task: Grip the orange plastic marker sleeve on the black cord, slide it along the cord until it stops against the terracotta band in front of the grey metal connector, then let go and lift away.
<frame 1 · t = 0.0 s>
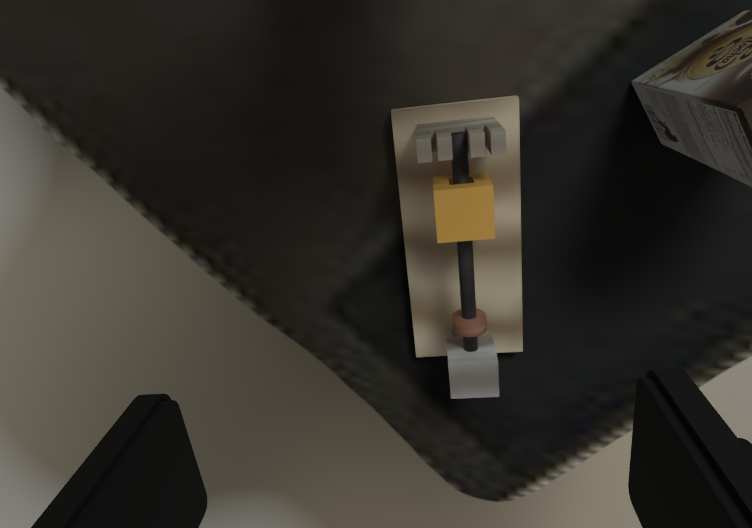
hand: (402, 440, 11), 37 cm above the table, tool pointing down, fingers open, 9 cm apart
marker sleeve: (462, 206, 40), point 6 cm above the table, slide at 0.0 cm
cord rig: (461, 235, 48), on the table
coffee box: (699, 81, 41), on the table
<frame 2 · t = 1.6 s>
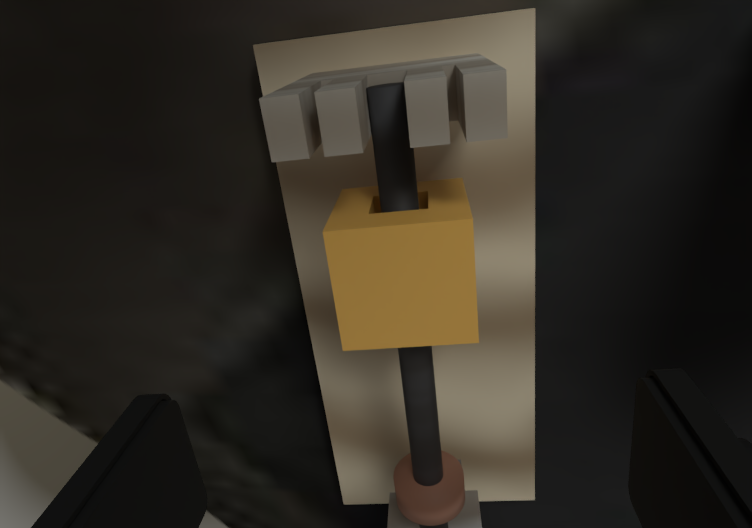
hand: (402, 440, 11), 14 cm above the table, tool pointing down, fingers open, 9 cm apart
marker sleeve: (405, 260, 18), point 6 cm above the table, slide at 0.0 cm
cord rig: (418, 295, 25), on the table
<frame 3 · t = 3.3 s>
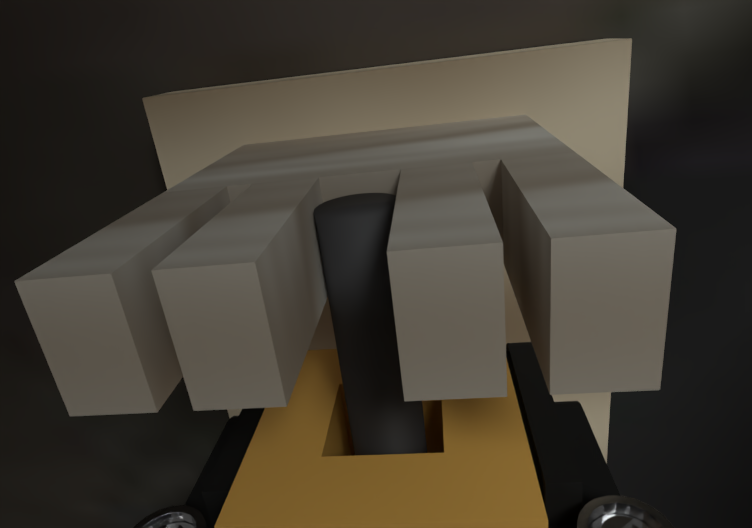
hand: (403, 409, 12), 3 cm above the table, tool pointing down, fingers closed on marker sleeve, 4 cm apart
marker sleeve: (398, 507, 9), point 6 cm above the table, slide at 0.0 cm, touching gripper
cord rig: (421, 459, 17), on the table
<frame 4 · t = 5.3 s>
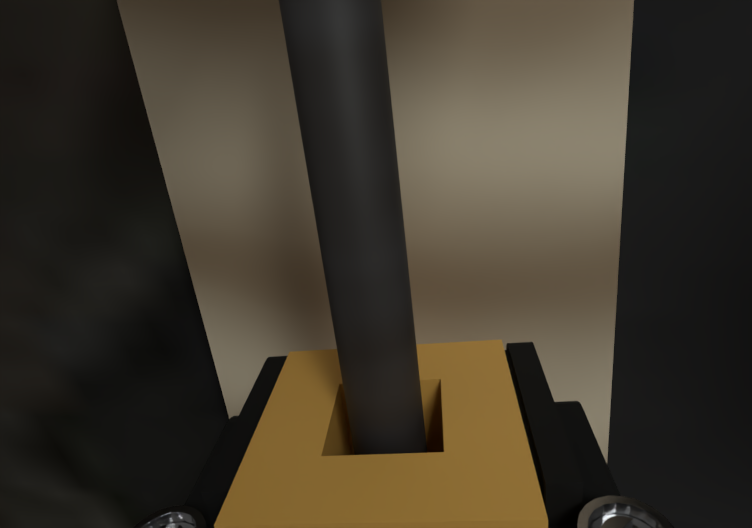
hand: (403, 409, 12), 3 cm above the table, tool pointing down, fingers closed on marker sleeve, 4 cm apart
marker sleeve: (398, 507, 9), point 6 cm above the table, slide at 7.4 cm, touching cord rig, gripper
cord rig: (397, 236, 14), on the table
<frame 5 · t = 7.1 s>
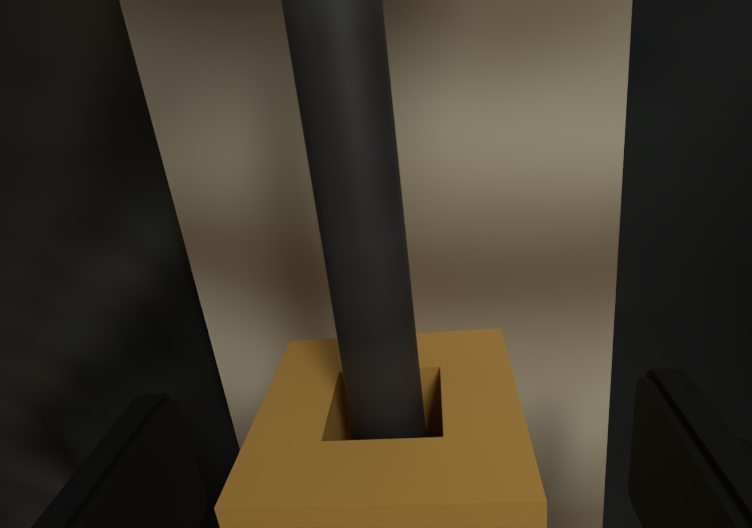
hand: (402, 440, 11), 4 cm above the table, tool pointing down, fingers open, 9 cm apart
marker sleeve: (398, 494, 9), point 6 cm above the table, slide at 7.4 cm, touching cord rig
cord rig: (397, 227, 14), on the table
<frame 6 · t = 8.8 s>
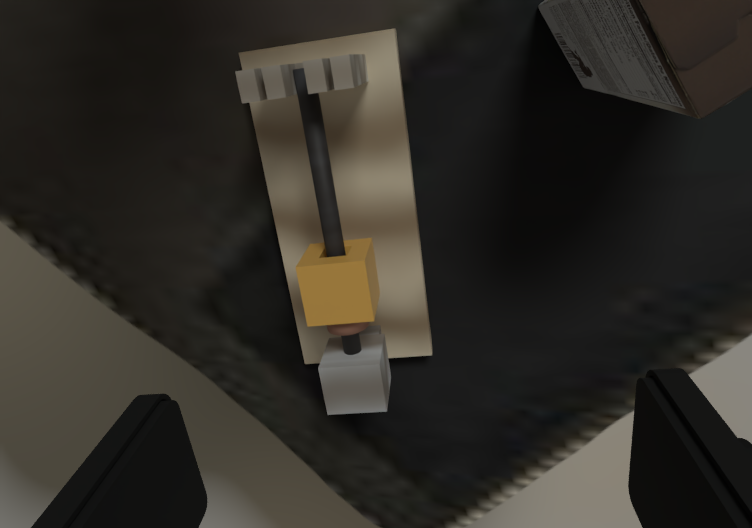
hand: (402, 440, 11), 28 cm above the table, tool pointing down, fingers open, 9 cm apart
marker sleeve: (340, 280, 34), point 6 cm above the table, slide at 7.4 cm, touching cord rig
cord rig: (347, 211, 39), on the table
coffee box: (625, 3, 32), on the table
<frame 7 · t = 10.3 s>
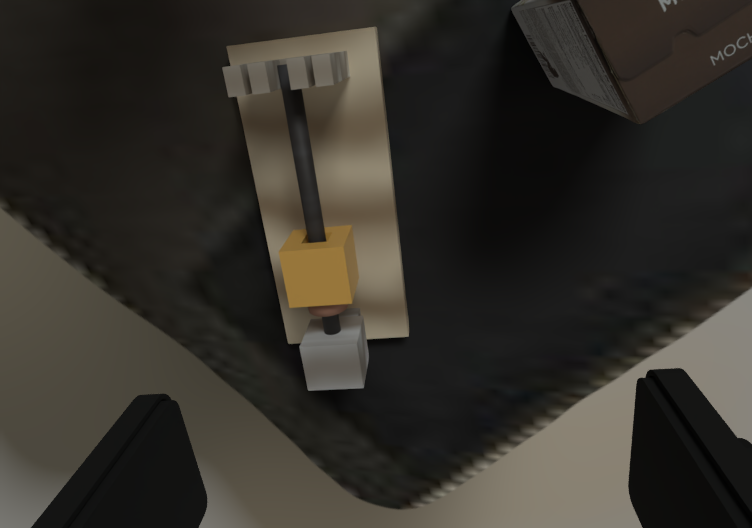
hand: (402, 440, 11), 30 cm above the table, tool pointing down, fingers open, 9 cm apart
marker sleeve: (321, 265, 36), point 6 cm above the table, slide at 7.4 cm, touching cord rig
cord rig: (329, 199, 41), on the table
coffee box: (593, 7, 34), on the table
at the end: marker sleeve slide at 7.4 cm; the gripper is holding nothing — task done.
